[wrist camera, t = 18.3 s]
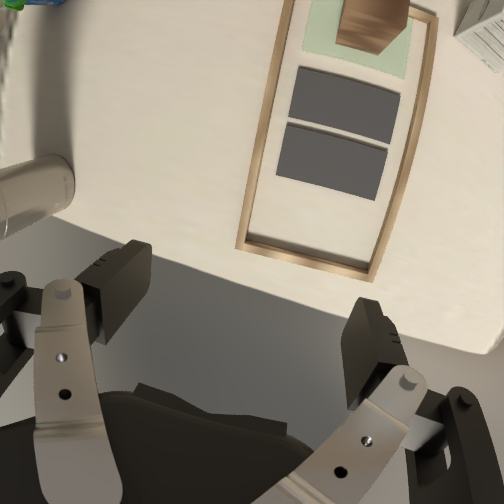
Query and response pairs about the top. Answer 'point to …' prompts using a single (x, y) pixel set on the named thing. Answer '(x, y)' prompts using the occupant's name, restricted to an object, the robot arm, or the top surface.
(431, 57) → the tray
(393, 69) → the pad
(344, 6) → the walnut block
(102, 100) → the top surface
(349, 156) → the trap squares
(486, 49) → the supplement box
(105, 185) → the top surface
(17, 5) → the snack cup
